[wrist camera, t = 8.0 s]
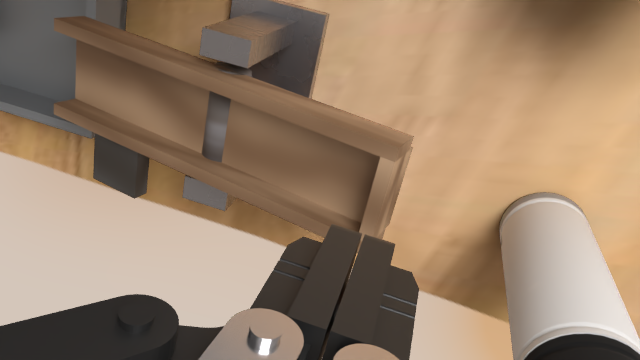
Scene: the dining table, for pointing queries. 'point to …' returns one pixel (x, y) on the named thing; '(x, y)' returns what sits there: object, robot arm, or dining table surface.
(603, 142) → the dining table surface
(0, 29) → the bin
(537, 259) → the travel mug
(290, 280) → the robot arm
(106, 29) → the lever
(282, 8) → the stand
